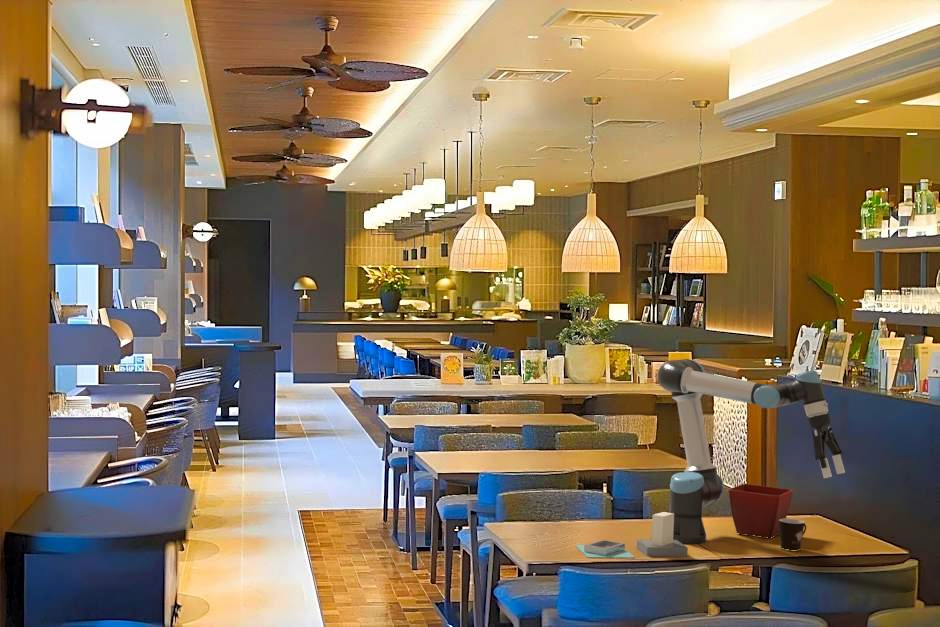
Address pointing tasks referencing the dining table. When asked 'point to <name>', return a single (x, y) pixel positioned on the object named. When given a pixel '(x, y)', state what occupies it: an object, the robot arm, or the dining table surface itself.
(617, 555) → the mat
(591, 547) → the holder
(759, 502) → the plant pot
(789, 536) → the coffee mug
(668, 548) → the plate
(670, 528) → the block
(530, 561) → the dining table surface
